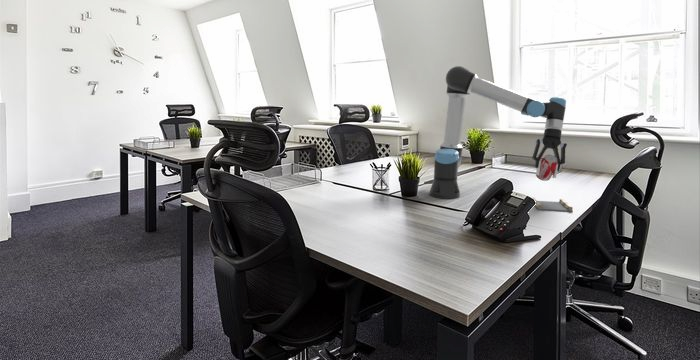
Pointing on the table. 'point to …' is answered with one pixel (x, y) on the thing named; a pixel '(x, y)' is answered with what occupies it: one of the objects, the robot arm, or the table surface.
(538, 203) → the guide rails
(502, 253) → the table surface
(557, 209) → the mat
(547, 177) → the soda can
